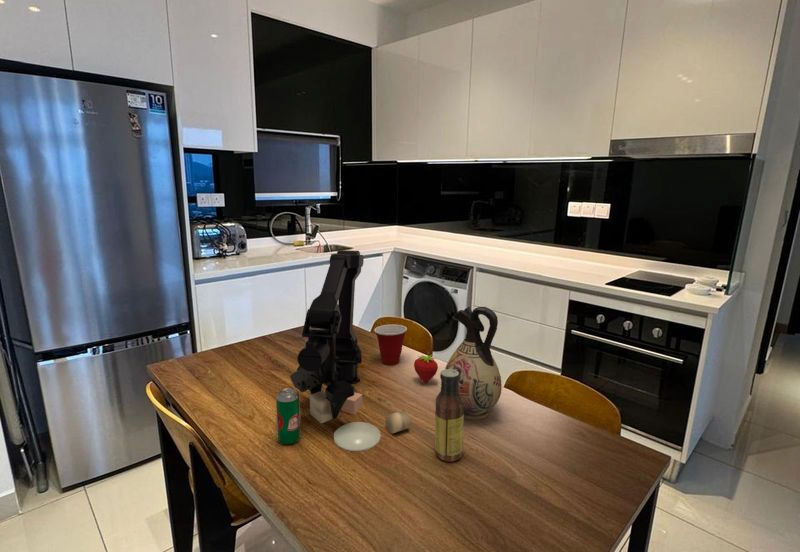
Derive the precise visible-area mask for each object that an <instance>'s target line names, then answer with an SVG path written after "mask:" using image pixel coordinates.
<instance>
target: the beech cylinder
mask: <svg viewBox="0 0 800 552" xmlns="http://www.w3.org/2000/svg"><path fill="white" fill-rule="evenodd" d="M411 423H412V422H411V418H410V415H409V413H408V412H407V411H406V410H405V409H403V410H400V411H399V410H398V411H396V412H393V413H390V414H387V415H385V426H386V429H387V431H388V432H389V433H390V434H395V433H398V432H402V431H405V430H407V429H410V427H411Z"/></svg>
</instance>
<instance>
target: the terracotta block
mask: <svg viewBox="0 0 800 552" xmlns="http://www.w3.org/2000/svg"><path fill="white" fill-rule="evenodd" d="M362 408H363V394H362V393H359V392H355V391H354V396H351V397H349V398H347V400H346V401H345V403H344V405H343V406H342V408H341V410H340V412H343V413H347V414H350V415H353V416H355V415H356V414H357V413H359V411H361V410H362Z"/></svg>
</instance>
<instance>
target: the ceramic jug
mask: <svg viewBox="0 0 800 552" xmlns="http://www.w3.org/2000/svg"><path fill="white" fill-rule="evenodd" d="M480 315H482V316H484V317H485V318H487V320H488V321H489V327H488V330H487V333H486V337H485V339H484V341H483V339H482V336H481V333H484V331H485V325H484V323H483V322H482V321H481V319H480ZM451 317H452V319H453V320H455V321H457V322H459V323H460V324H462V325H463V326H464V327H465V328H466V335H465V338H464V339H463V340H462V342H461V343H460V344H459V345H458V347H457V348H456V349H455V351H454V352H453V353H452V355H451V356H450V358H449V360H448V361H447V364H446V365H445V368H444V370H445V369H454V370H456V371H458V372H459V381H458V389H459V391H458V392H459V395H460V397H461V400H462V402H463V411H464V419H465V418H467V419H466V420H481V419H486V418H487V417H488V416H489V413H490V411H491V410H492V409H493V408H494V407H495V406H496V405H497V404H498V402H499V401H500V397H501V394H502V389H503V388H502V387H503V386H502V376H501V373H500V370H499V367H498V365H497V362H496V361H495V358H494V357H493V355H492V351H491V346H492V345H491V344H492V342H493V339H494V337H495V335H496V333H497V329H498V322H499V321H498V316H497V314H496V312H495V311H493V310H492V309H491V308H489V307H487V306H478V307H475V308H474V309H473V310H472V309H471V306H467V308H465V309H464V310H463V309H460V310H458V311H457V312H456V313H455V314H454V315H453V316H451ZM480 332H481V333H480Z"/></svg>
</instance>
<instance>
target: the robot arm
mask: <svg viewBox="0 0 800 552" xmlns="http://www.w3.org/2000/svg"><path fill="white" fill-rule="evenodd" d="M364 259H365V258H364V254H361V252H360V251H359V250H347V249H346V250H345V249H339V250H337V251H336V253H330V256H329V267H328V269H327V272H326V276H325V279H324V282H323V285H322V288H321V291H320V294H319V295H318V296H317V297H315V298H314V299H312V301H311V303H310V306H309V309H307V311H306V314H305V320H304V325H303V329H302V334H301V336H302V337H303V338H308V339H307V341H306V342H305V345H304V346H303V348H302V349H301V350H300V351H299V352H298V354H297V357H296V358H297V364H298V367H297V369H296V371H294V372H293V373H292V374H291V375H289V378H290V380H291V382H292V385H293V387H294V388H295V389H296V390H297V391H299V392H300V393H304V392H307V391H309V393H310V395H312V394H314V393H317V392H320V391H322V388H323V384H324V385H325V386H326V388H325V389H324V390H325V394H326V397H325V398H326V399H327V400H328V401H330V406H331V413H332V418H333V419H332V420H335V419H337V418H338V417H337V416H338V414H339V412H340V413H341V408H342V406H343V405H344V403H345V401H346V400H347V398H349V397H351V396H354V392H355V386H353V385H352V384H354V383H357V382H360V381H361V378H360V377H359V376H358V365H359V364H361V363H362V358H363V357H362V350H361V348H360V346H359V345H358V336H356V333H355V331H354V329H353V327H354V326H353V325H354V309H355V307H354V306H355V291H356V289H355V288H356V280H358V277H359V276H360V274H361V273H362V268H363V266H364V262H365V261H364ZM310 328H312V329H310Z"/></svg>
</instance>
